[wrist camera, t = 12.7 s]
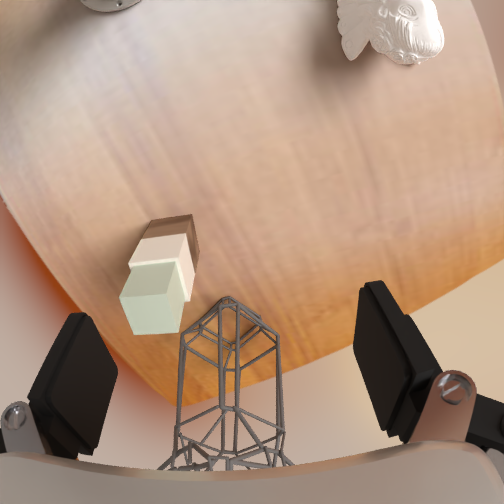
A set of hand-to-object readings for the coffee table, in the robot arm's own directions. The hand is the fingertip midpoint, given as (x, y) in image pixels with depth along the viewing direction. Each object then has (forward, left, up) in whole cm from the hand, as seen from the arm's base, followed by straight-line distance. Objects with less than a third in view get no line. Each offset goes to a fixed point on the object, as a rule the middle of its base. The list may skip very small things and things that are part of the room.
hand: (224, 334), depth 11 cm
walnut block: (+12, -10, -34) cm, 38 cm away
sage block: (+12, -10, -22) cm, 27 cm away
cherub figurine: (-20, +22, -35) cm, 46 cm away
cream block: (+12, -10, -28) cm, 32 cm away
